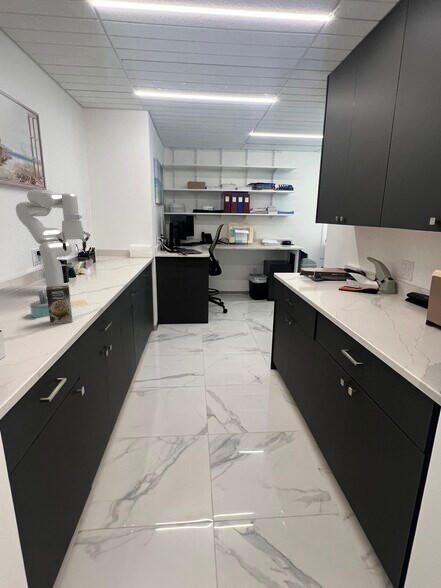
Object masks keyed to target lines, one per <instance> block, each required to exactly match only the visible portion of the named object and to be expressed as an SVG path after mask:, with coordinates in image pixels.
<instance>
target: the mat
mask: <svg viewBox="0 0 441 588" xmlns="http://www.w3.org/2000/svg"><path fill="white" fill-rule="evenodd" d="M70 302H71V308H74V307H81V306H86V305H89V303H88V302H87V301H85V300H84V299H79V300H73V301H70Z"/></svg>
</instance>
